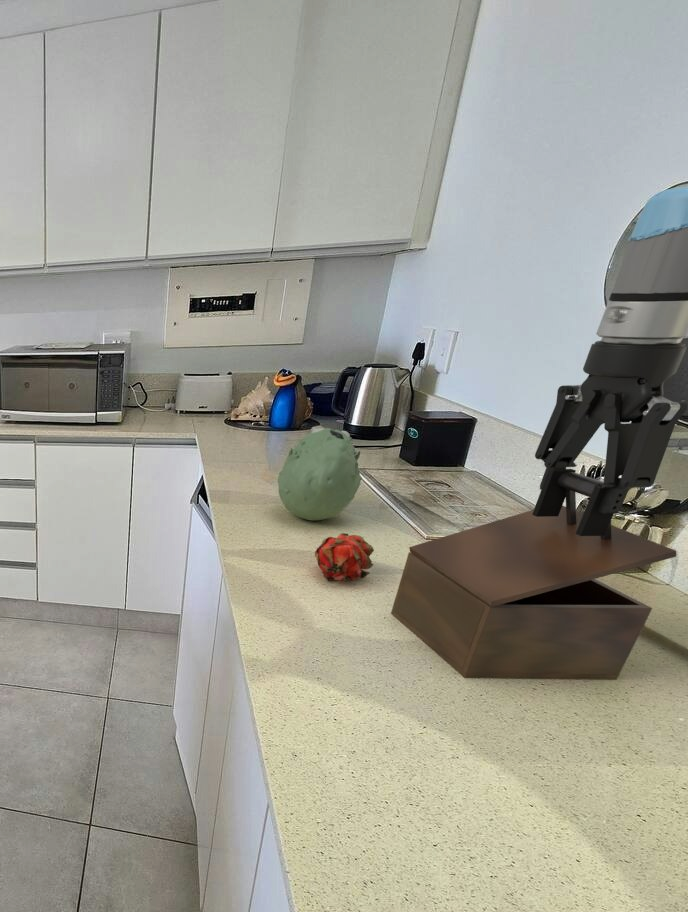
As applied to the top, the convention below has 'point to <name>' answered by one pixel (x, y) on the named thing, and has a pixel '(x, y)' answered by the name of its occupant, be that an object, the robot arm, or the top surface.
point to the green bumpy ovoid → (320, 474)
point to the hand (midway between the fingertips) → (566, 524)
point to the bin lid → (537, 551)
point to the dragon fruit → (344, 557)
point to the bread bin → (521, 627)
